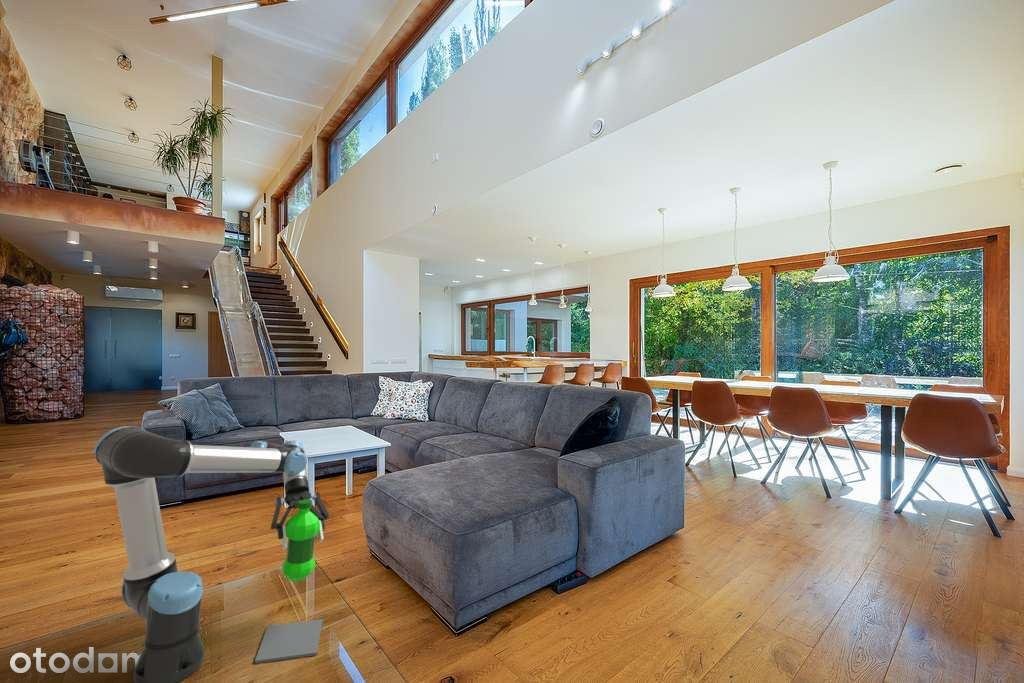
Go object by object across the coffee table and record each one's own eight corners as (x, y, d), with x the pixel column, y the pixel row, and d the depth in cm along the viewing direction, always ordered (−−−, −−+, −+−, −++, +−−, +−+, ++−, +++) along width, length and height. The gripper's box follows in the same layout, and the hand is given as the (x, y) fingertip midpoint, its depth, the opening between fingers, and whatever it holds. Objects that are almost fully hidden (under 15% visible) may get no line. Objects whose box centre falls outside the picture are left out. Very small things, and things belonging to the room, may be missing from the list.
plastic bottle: (311, 567, 152) (318, 494, 152) (316, 582, 143) (324, 505, 143) (278, 573, 146) (286, 497, 147) (282, 588, 137) (290, 508, 138)
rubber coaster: (254, 663, 122) (254, 660, 122) (267, 628, 137) (267, 625, 137) (316, 655, 127) (317, 652, 127) (322, 621, 142) (322, 619, 142)
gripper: (326, 483, 164) (336, 541, 152) (257, 491, 150) (261, 557, 137) (332, 473, 160) (342, 532, 148) (261, 480, 146) (266, 546, 133)
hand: (303, 544), depth 142 cm, fingers closed on plastic bottle, 10 cm apart
